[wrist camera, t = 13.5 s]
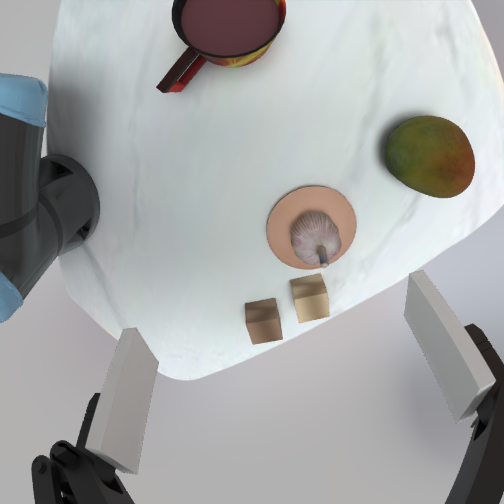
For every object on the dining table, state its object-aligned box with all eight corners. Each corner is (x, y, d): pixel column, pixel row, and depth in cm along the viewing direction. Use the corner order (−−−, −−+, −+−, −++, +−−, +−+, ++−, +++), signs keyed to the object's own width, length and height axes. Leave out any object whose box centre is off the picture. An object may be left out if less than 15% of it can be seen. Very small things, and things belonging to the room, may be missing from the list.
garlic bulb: (321, 261, 45) (334, 295, 38) (277, 246, 43) (284, 279, 36) (346, 218, 41) (365, 247, 34) (300, 199, 40) (312, 226, 33)
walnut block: (251, 323, 53) (252, 344, 49) (245, 303, 50) (245, 324, 46) (279, 318, 52) (282, 339, 48) (274, 297, 50) (277, 318, 46)
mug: (176, 90, 33) (147, 93, 22) (205, -7, 26) (189, -42, 16) (251, 106, 34) (255, 114, 24) (281, 9, 27) (298, -21, 17)
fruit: (450, 174, 39) (489, 199, 30) (385, 198, 41) (417, 229, 32) (438, 103, 33) (482, 114, 25) (366, 123, 35) (401, 137, 27)
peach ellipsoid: (275, 272, 47) (276, 277, 46) (257, 195, 40) (257, 198, 39) (355, 255, 46) (358, 259, 45) (350, 176, 39) (352, 179, 38)
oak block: (294, 302, 51) (298, 323, 46) (289, 279, 48) (294, 299, 44) (323, 296, 50) (329, 316, 46) (320, 272, 48) (327, 292, 43)
